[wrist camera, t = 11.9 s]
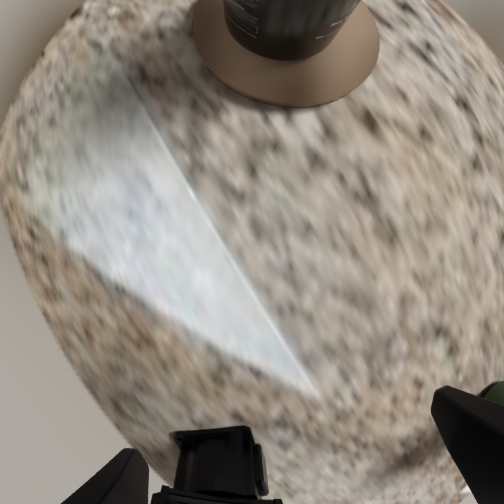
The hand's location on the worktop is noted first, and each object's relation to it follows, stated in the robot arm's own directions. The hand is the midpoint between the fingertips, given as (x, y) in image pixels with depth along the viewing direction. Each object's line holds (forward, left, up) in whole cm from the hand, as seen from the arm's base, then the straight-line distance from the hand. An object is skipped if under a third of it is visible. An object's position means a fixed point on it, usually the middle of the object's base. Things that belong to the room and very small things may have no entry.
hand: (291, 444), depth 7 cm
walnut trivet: (+5, +17, -12) cm, 21 cm away
